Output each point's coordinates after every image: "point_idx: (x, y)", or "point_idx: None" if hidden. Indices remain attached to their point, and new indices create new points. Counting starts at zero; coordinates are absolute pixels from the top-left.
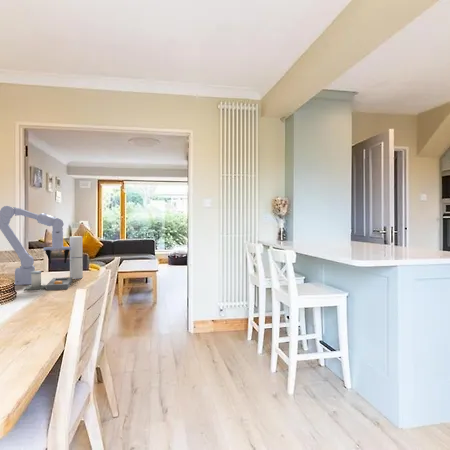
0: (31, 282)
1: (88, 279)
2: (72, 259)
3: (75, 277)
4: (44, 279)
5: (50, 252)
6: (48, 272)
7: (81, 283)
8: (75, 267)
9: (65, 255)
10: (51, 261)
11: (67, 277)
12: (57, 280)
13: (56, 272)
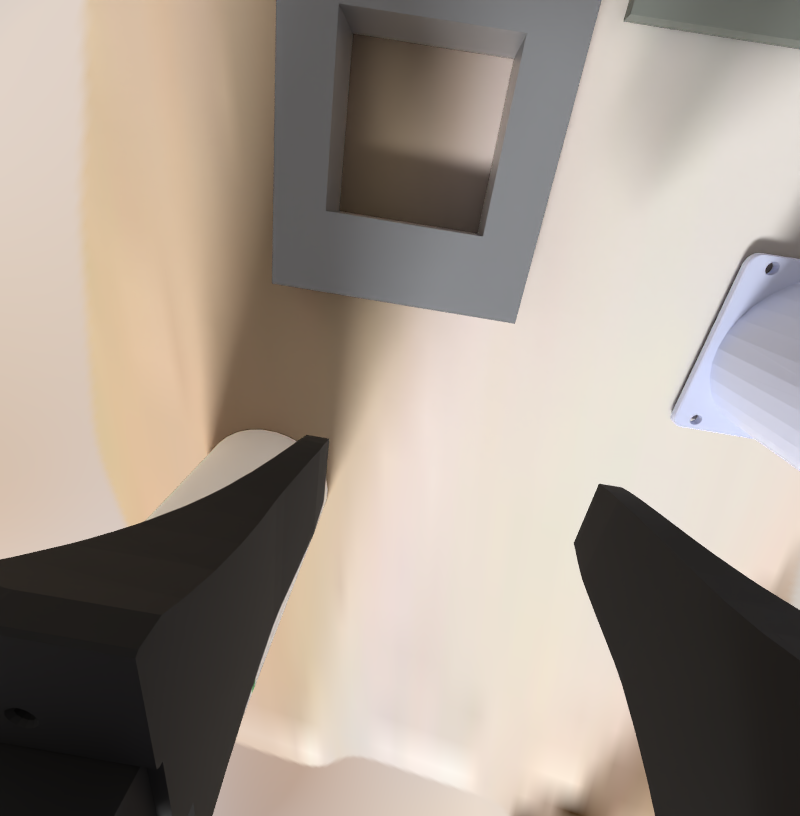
0: (778, 295)
1: (128, 341)
2: None
3: (264, 438)
4: (564, 527)
5: (788, 800)
6: (488, 780)
7: (160, 52)
8: None
9: (219, 521)
10: (586, 566)
11: (334, 282)
12: (482, 20)
13: (433, 761)
